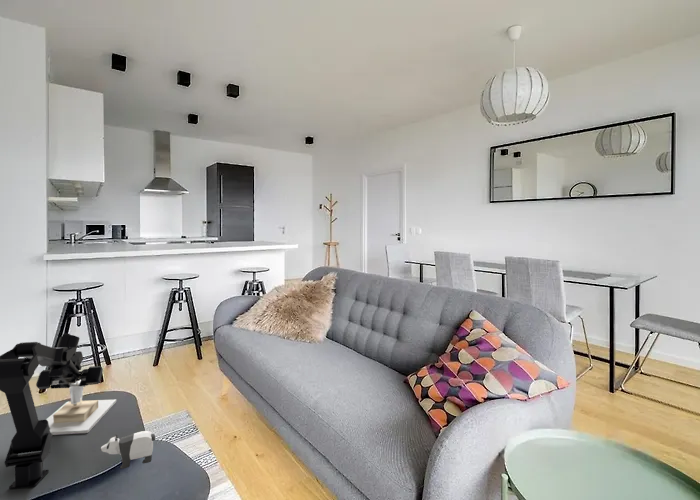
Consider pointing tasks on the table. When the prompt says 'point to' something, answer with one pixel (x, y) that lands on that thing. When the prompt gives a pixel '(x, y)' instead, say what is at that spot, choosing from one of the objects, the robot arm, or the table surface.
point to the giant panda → (131, 447)
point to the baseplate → (80, 426)
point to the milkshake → (76, 393)
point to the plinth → (75, 412)
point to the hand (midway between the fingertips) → (77, 385)
